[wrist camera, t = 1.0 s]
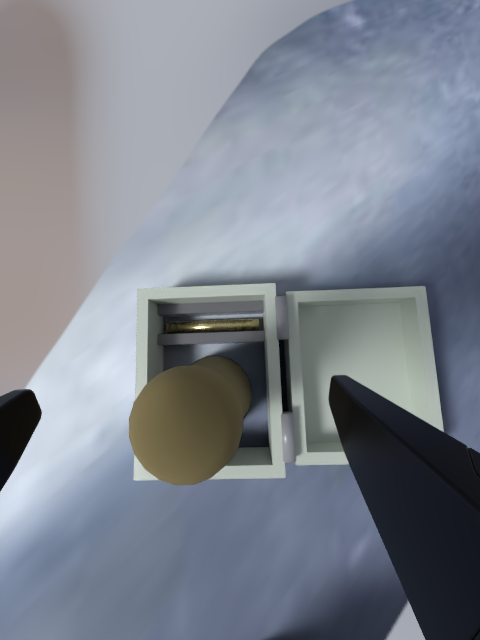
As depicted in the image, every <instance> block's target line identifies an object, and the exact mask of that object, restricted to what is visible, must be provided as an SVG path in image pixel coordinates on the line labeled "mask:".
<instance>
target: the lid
mask: <svg viewBox="0 0 480 640" xmlns="http://www.w3.org/2000/svg"><path fill="white" fill-rule="evenodd" d="M284 296H287V302H288V320H289V338H290V339H286V340H284V351H285V370H286V388H287V407H288V412H293V413H294V427H295V444H296V461H295V465H336V464H349V463H348V460H347V458H346V455H345V453H344V450H343V447H342V444H341V441H340V438H339V435H338V432H337V428H336V425H335V422H334V419H333V415H332V412H331V409H330V406H329V401H328V396H329V388H330V381H331V377H332V376H333V375H347V376H349V377H350V378H352V379H354V380H355V381H357V382H359V383H361V384H362V385H364V386H366V387H367V388H369V389H371V390H373V391H374V392H376V393H378V394H379V395H381V396H383V397H385V398H386V399H388V400H390V401H391V402H393V403H395V404H396V405H398V406H400V407H402V408H403V409H405V410H407V411H408V412H410V413H412V414H414V415H415V416H417V417H419V418H420V419H422V420H424V421H426V422H427V423H429V424H431V425H432V426H434V427H436V428H437V429H439V430H441V431H443V432H444V429H443V421H442V414H441V406H440V398H439V390H438V382H437V374H436V366H435V358H434V350H433V342H432V334H431V326H430V318H429V310H428V302H427V295H426V287H425V286H414V287H389V288H365V289H340V290H316V291H292V292H286V293H285V295H284Z"/></svg>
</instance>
